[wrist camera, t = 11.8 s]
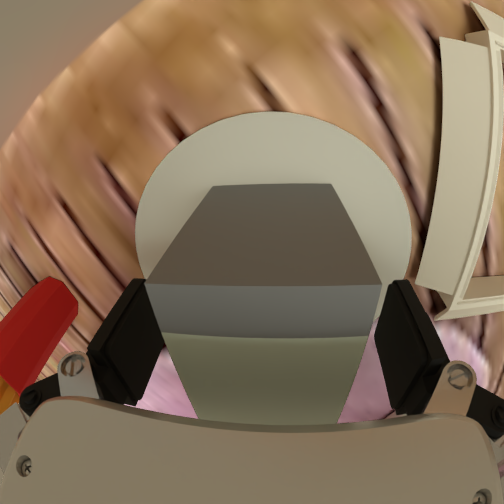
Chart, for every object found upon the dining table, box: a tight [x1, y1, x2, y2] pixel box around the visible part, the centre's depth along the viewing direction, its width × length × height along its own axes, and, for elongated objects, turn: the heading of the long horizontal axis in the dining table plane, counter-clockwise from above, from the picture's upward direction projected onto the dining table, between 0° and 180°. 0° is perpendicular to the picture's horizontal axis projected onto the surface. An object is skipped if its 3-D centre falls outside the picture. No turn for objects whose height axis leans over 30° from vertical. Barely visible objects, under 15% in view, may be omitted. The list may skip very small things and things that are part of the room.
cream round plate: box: [135, 111, 412, 321], centre depth 14 cm, size 14×14×1 cm
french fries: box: [0, 277, 78, 415], centre depth 13 cm, size 8×4×12 cm, turn 116°
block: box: [144, 183, 382, 425], centre depth 11 cm, size 8×5×7 cm, turn 4°
